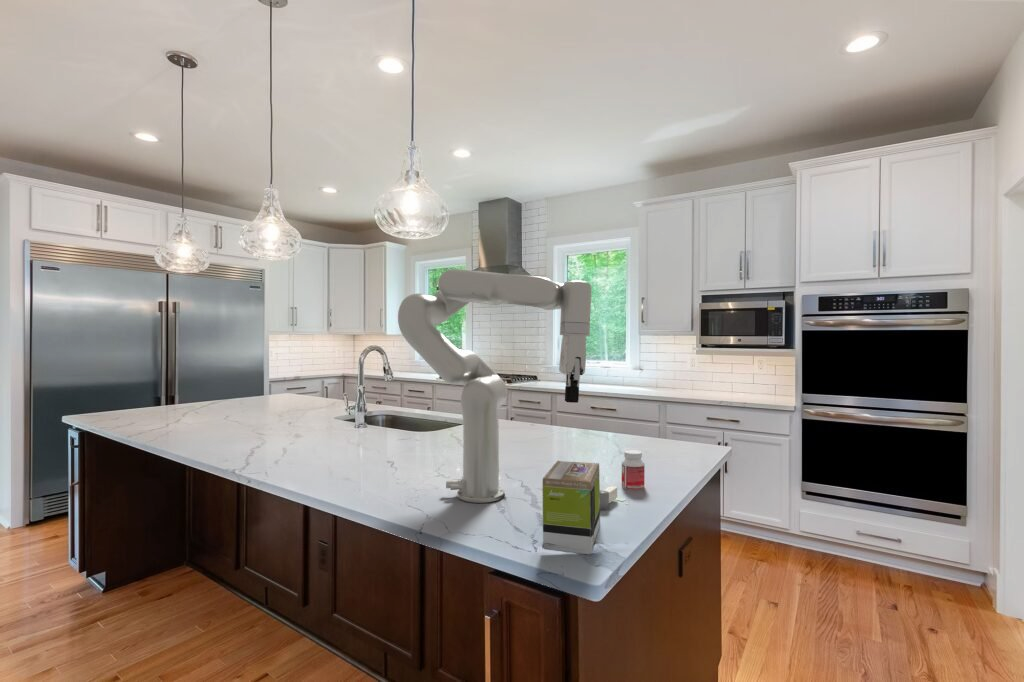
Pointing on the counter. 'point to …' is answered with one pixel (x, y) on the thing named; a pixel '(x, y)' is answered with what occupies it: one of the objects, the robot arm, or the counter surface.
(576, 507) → the tea box
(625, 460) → the pill bottle
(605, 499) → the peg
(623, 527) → the counter surface
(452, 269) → the robot arm
